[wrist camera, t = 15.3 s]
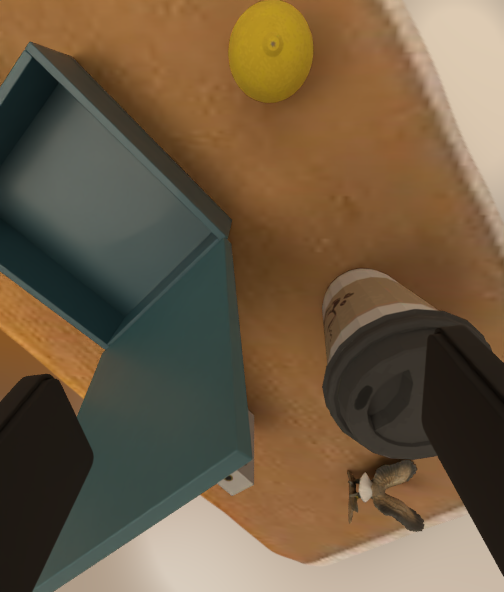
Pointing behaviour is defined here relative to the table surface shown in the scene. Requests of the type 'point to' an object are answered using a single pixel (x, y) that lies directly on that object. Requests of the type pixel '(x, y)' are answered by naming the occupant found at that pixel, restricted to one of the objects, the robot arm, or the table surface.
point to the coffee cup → (379, 361)
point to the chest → (91, 200)
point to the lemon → (270, 51)
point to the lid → (159, 418)
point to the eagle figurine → (382, 501)
